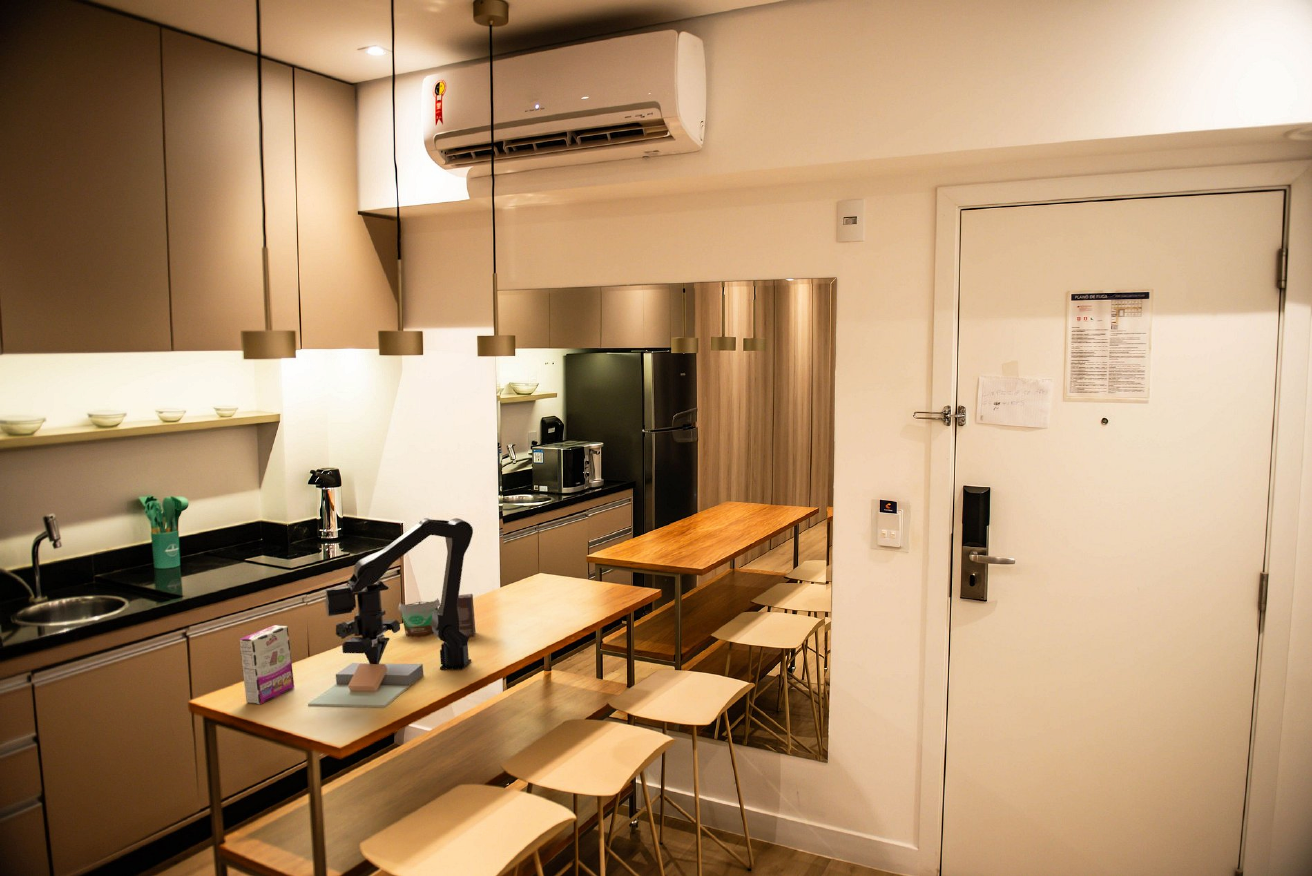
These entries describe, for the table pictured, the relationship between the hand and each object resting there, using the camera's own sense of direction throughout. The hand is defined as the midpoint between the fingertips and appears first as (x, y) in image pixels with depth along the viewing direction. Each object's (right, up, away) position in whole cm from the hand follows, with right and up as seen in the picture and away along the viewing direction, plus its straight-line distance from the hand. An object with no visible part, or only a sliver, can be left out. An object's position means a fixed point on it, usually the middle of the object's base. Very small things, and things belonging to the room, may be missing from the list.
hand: (374, 668), depth 213 cm
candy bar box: (-25, -6, -4) cm, 26 cm away
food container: (+1, -1, +39) cm, 39 cm away
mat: (-1, -5, -8) cm, 9 cm away
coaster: (0, -2, -3) cm, 4 cm away
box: (+15, 0, +36) cm, 39 cm away
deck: (+1, -4, +2) cm, 4 cm away
